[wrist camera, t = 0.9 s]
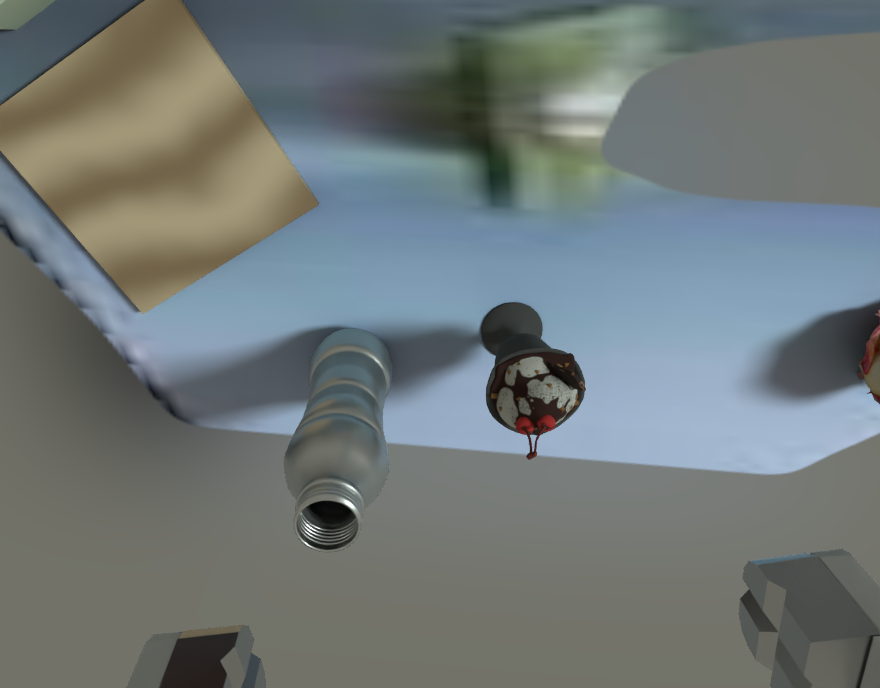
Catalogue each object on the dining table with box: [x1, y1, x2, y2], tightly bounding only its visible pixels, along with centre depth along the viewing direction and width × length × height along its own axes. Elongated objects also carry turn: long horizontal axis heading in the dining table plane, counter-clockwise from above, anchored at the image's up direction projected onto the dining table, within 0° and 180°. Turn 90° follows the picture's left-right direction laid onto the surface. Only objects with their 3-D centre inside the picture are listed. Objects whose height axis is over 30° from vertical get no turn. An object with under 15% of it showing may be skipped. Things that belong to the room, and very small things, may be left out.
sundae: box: [482, 303, 586, 460], centre depth 45 cm, size 7×7×15 cm
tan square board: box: [0, 0, 319, 314], centre depth 44 cm, size 16×16×1 cm
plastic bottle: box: [284, 328, 393, 552], centre depth 43 cm, size 6×7×20 cm
